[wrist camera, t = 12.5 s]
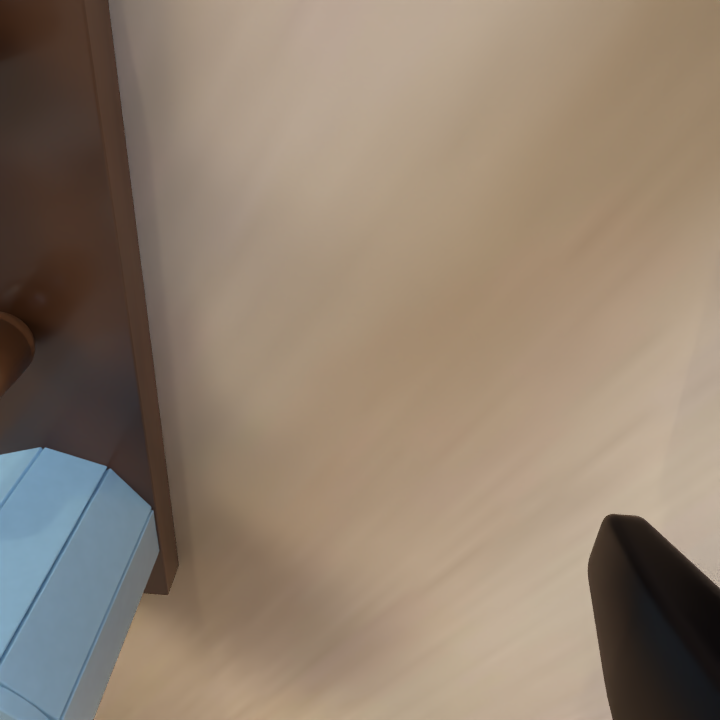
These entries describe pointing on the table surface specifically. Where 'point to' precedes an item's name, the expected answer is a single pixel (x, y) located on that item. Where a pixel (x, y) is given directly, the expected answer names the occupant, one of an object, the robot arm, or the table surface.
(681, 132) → the table surface
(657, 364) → the table surface
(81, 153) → the rack
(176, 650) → the table surface
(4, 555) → the cup
